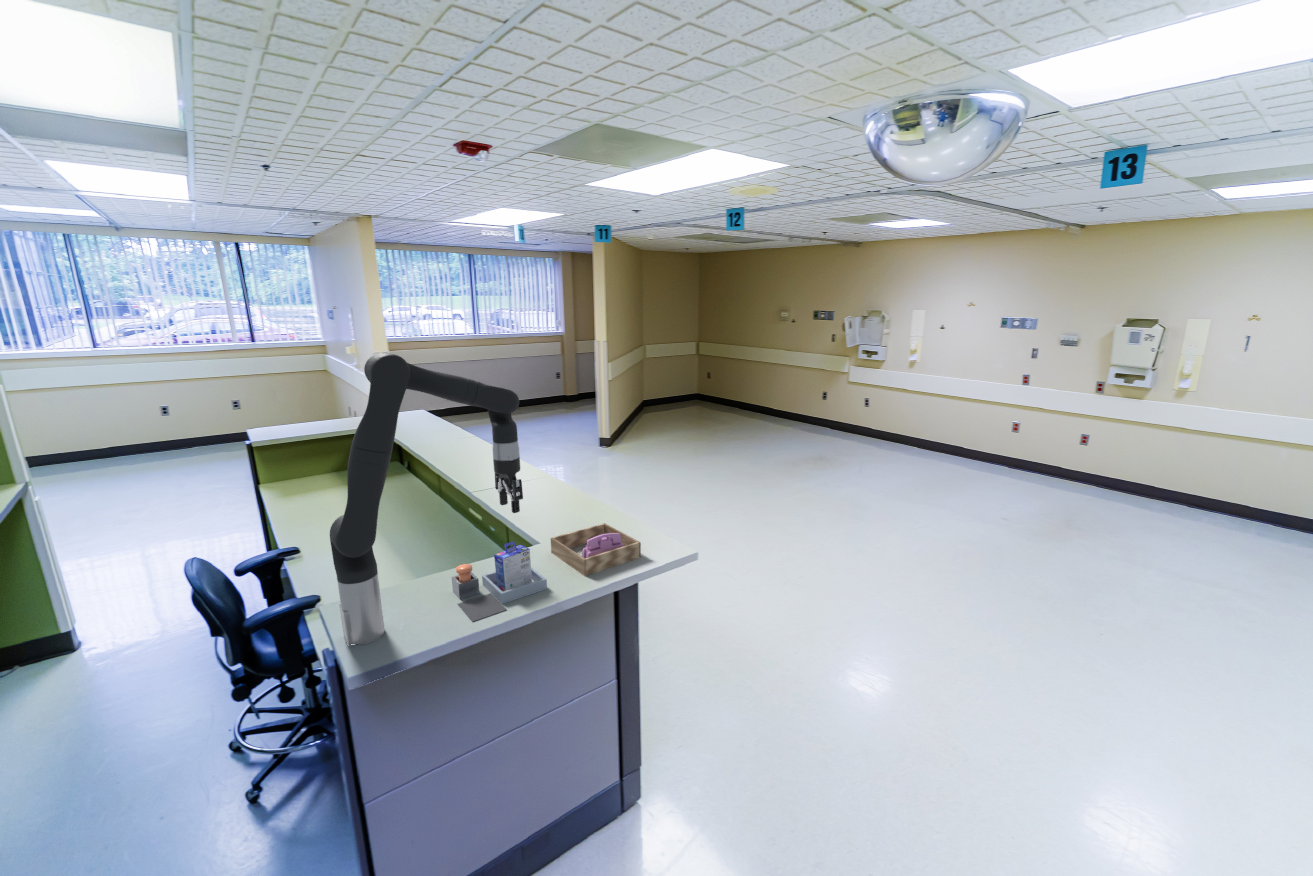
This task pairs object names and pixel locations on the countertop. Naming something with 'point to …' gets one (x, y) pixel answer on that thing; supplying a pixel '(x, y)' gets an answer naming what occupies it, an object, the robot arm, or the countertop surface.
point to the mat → (482, 607)
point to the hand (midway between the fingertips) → (509, 508)
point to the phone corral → (596, 562)
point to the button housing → (465, 586)
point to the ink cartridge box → (513, 567)
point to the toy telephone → (602, 544)
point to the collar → (515, 592)
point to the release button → (464, 572)
